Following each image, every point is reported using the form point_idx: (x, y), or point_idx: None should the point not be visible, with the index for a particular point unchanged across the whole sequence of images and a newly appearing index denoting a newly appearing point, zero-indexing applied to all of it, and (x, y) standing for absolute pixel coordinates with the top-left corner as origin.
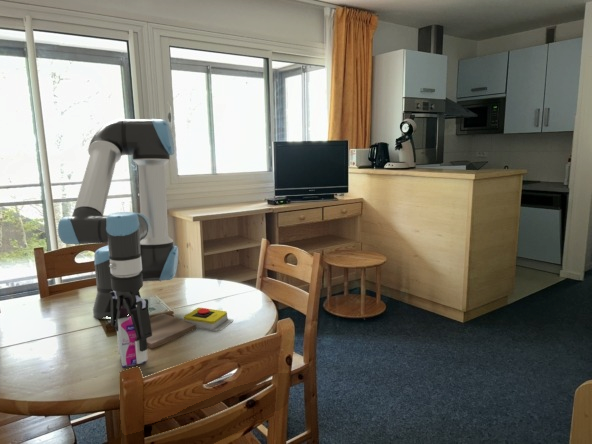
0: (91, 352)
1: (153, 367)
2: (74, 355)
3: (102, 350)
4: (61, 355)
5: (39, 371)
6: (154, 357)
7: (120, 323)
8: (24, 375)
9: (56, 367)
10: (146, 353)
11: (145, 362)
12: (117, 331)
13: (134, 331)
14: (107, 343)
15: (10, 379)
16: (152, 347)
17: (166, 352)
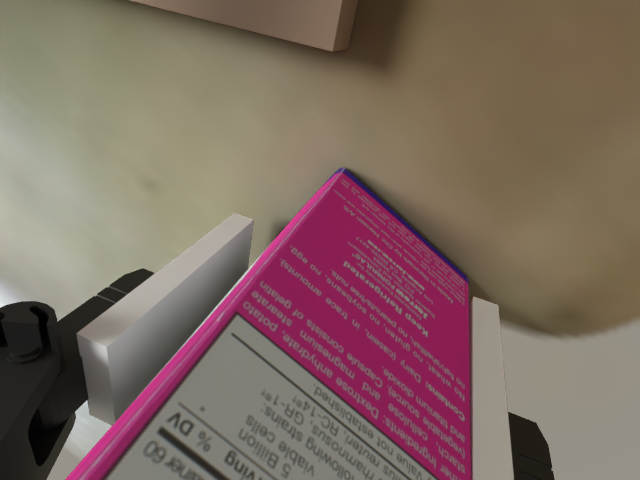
0: (65, 239)
1: (580, 318)
2: (43, 284)
3: (83, 203)
4: (8, 295)
5: (82, 405)
6: (486, 179)
7: None
8: (75, 428)
9: None
10: (498, 348)
11: (467, 278)
12: (97, 415)
13: None
14: (16, 113)
15: (72, 447)
16: (347, 32)
17: (557, 44)
